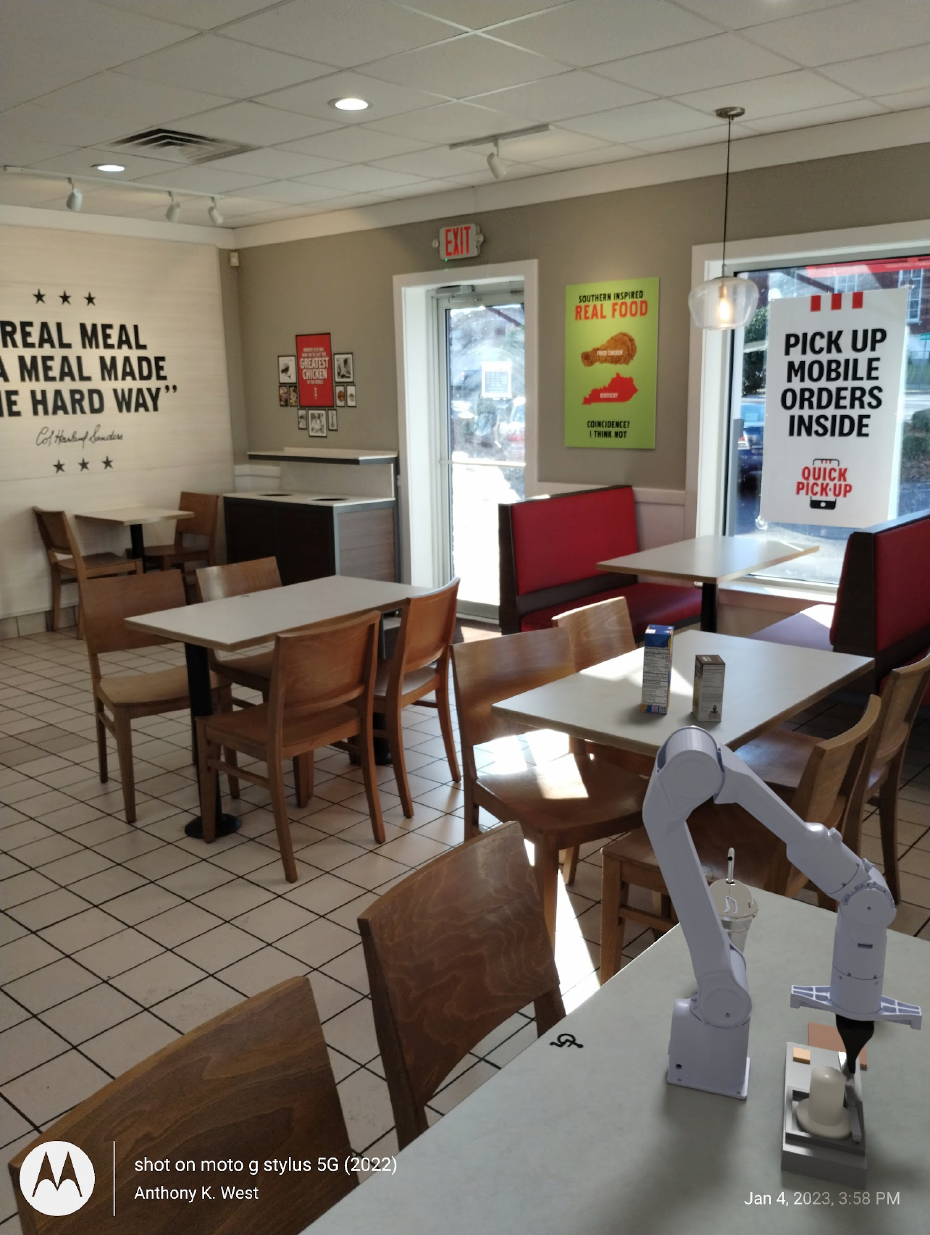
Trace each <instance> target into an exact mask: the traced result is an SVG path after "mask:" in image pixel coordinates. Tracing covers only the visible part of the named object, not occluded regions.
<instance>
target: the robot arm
mask: <svg viewBox="0 0 930 1235" xmlns="http://www.w3.org/2000/svg"><path fill="white" fill-rule="evenodd" d="M719 748H720V750H718V743H717V741H716V739H715V738H714V736H713V735H712V734H711V733H710V732H709V731H707V730H706V729H704V728H702V727H699V726H696V725H686V726H682V727H679V728H677V729H675V730H674V731H673V732H671V733H670V734H669V736H668V737H667V738H666V740H665V741H664V742H663V743H662V745H661V746H660V747H659V749H658V750H657V752H656V756H655V762H654V766H653V769H652V772H651V776H650V779H649V781H648V782H649V783H648V786H647V789H646V793H645V796H644V800H643V803H642V822H643V825H644V827H645V829H646V833H647V835H648V838H649V841H650V843H651V847H652V850H653V852H654V856H655V857H656V861H657V863H658V867H659V869H660V872H661V874H662V878H663V881H664V883H665V886H666V888H667V891H668V895H669V897H670V900H671V902H672V905H673V908H674V911H675V913H676V917H677V919H678V921H679V925H680V928H681V929H682V933H683V936H684V939H685V942H686V943H687V947H688V949H689V951H688V952H689V955H690V959H691V960H690V961H691V964H692V969H693V974H694V978H695V980H696V990H695V991H694V993H693V995H691V997H690V998H689V997H688V998H675V1000H674V1004H673V1010H672V1015H671V1024H670V1025H671V1026H670V1037H669V1038H670V1039H669V1040H668V1041H669V1042H668V1048H667V1055H668V1068H667V1070H668V1071H667V1077H666V1082H668V1083H669V1084H673V1085H677V1086H682V1087H685V1088H686V1087H687V1088H690V1089H691V1088H692V1089H696V1090H699V1091H700V1090H701V1091H704V1092H709V1093H713V1094H718V1095H722V1096H727V1097H732V1098H737V1099H741V1100H746V1099H748V1090H749V1081H750V1080H749V1079H750V1078H749V1077H750V1070H751V1069H750V1067H751V1066H750V1065H751V1058H750V1057H749V1056H748V1048H749V1038H750V1023H751V1011H752V1008H753V1006H752V1005H753V1004H752V997H751V995H750V992H749V984H748V977H747V962H746V959H745V956H744V953H743V954H742V953H741V952H740V950H739V949H737V948H736V947H735V946H734V945H733V944H732V942H731V941H730V939H729V936H728V933H727V931H726V930H725V929H724V928H723V925H722V923H721V920H720V917H719V914H718V911H717V909H716V906H715V903H714V900H713V897H712V894H711V892H710V889H709V887H710V885H709V884H708V880H707V878H706V877H707V876H706V874H705V872H704V869H703V867H702V864H701V861H700V858H699V855H698V853H697V849H696V846H695V844H694V841H693V838H692V835H691V832H690V829H689V826H688V824H687V821H686V820H687V819H688V818H689V816H690V815H691V813H692V811H693V810H695V809H696V808H697V807H700V805H702V804H704V803H705V802H706V801H707V800H709V799H710V798H712V796H713V803H714V804H717V805H720V804H721V805H722V804H731V803H733V804H734V803H737V804H738V805H740V807H742V808H743V809H744V810H745V811H747V812H748V813H749V814H751V815H752V816H753V817H754V818H755V819H756V820H757V821H759V822H760V823H761V824H763V825H764V826H765V827H766V828H767V829H768V830H770V831H771V832H772V833H773V834H774V835H776V836H777V837H778V838H779V839H780V840H782V841H783V842H784V843H785V844H786V858H787V860H788V861H789V862H790V863H792V865H794V866H795V867H796V868H797V869H798V870H799V872H801V873H803V874H804V875H805V876H806V877H807V879H809V880H810V881H811V882H812V883H813V884H814V885H816V886H817V887H818V888H819V889H820V890H821V891H822V892H824V894H825V895H827V897H829V898H831V899H832V900H835V901H837V902H838V903H839V904H838V905H837V914H836V915H837V917H836V923H835V927H834V938H833V939H834V940H833V948H832V949H833V953H832V963H831V971H830V972H831V973H830V975H831V977H830V985H809V986H808V985H807V986H803V985H795V984H791V985H790V986H791V987H790V997H789V998H790V1002H789V1004H790V1005H789V1007H790V1008H791V1009H800V1007H803V1008H808V1009H814V1010H821V1011H826V1012H829V1013H833V1014H835V1027H837V1030H838V1032H839V1034H840V1036H841V1039H842V1041H843V1043H844V1046H845V1049H846V1059H847V1065H848V1068H849V1073H852V1074H855V1071H856V1059H857V1057H858V1055H859V1053H860V1051H861V1050H862V1048H863V1047H864V1045H865V1046H866V1044H867V1043H868V1042H869V1041H870V1040H871V1039H872V1038H873V1036H874V1034H875V1021H881V1022H888V1023H895V1024H901V1025H907V1026H909V1027H910V1029H912V1030H916V1031H921V1030H922V1021H923V1013H922V1008H921V1006H919V1005H914V1004H909V1003H907V1002H903V1001H900V1000H899V999H898V1000H897V999H894V998H891V997H888V996H885V995H883V986H884V984H883V983H884V976H885V974H884V973H885V965H886V955H887V954H886V953H887V943H888V935H887V934H888V933H887V932H888V927H889V926H890V925H891V924H892V923H893V921H894V920H895V918H896V916H897V912H898V910H897V908H895V901H894V898H893V895H892V892H891V891H890V889H889V886H888V883H887V882H886V880H885V878H884V876H883V875H882V873H881V872H880V870H879V869H878V868H877V865H876V864H874V863H872V862H871V861H869V860H868V859H867V858H866V857H864V858H862V859H861V858H860V857H859V856H858V855H857V854H855V852H853V851H852V850H851V849H850V848H849V847H848V846H847V845H846V844H845V843H843V836H842V834H841V832H840V831H838V830H837V829H836V828H835V827H831V828H830V829H828V828H827V826H825V825H824V824H822V823H820V822H806V821H804V820H803V819H802V818H801V817H800V816H799V815H798V814H797V813H796V812H795V811H794V810H792V808H790V806H789V805H787V803H786V802H785V801H783V799H782V798H781V797H780V796H778V794H776V793H775V792H774V790H772V788H771V787H769V785H767V784H766V782H764V781H763V779H761V778H760V777H759V776H758V775H757V773H755V772H754V771H753V770H752V769H751V768H750V767H749V766H748V765H747V764H746V762H744V761H743V760H742V759H741V758H740V757H739V756H738V755H736V753H734V752H733V750H731V749H730V748H729V747H728V746H726V745H725V744H724V743H723V742H719Z"/></svg>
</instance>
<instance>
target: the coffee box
mask: <svg viewBox="0 0 930 1235" xmlns="http://www.w3.org/2000/svg"><path fill="white" fill-rule="evenodd" d="M694 658H695V659H694V671H693V674H694V676H693V690H692V703H691V704H692V705H691V706H692V707H691V710H692V713H693V714H694V716H695V718H696V720H697V722H722V716H723V702H724V701H723V699H724V690H725V678H726V677H725V675H726V662H725V661H724V660H723V659H722V657H721V656H720V654H695V657H694Z"/></svg>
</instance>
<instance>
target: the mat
mask: <svg viewBox="0 0 930 1235" xmlns="http://www.w3.org/2000/svg"><path fill="white" fill-rule="evenodd" d="M807 1026H808V1028H807V1029H808V1034H807V1035H808V1038H807V1043H808V1045H807V1046H812V1047H817V1048H822V1049H827V1050H832V1051H837V1052H843V1053H846V1049H845V1046H844V1043H843V1041H842V1039H841V1036H840V1034H839V1032H838V1030H837V1027H836V1026H833V1025H827V1024H822V1023H817V1022H812V1021H808V1025H807ZM858 1056H859V1062H860V1068H863V1069H867V1068H868V1060H867V1049H866V1044H865V1045H864V1047H863V1048H862V1050H861V1051H860V1053H859V1055H858Z"/></svg>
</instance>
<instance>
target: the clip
mask: <svg viewBox="0 0 930 1235" xmlns="http://www.w3.org/2000/svg"><path fill="white" fill-rule="evenodd" d="M838 1060H839V1066H840V1071H841V1073H842V1074H843V1075H844V1076H845V1089H844V1097H845V1099H846V1104H847V1110H848V1115H849V1121H850V1127H851V1132H852V1138H853V1141H859V1142H861V1136H862V1135H861V1130H860V1125H859V1120H858V1114H857V1109H856V1104H855V1099H854V1094H853V1087H854V1080H853V1078H851V1077H850V1073H849V1068H848V1065H847V1059H846V1053H843V1052H839V1053H838Z"/></svg>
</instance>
